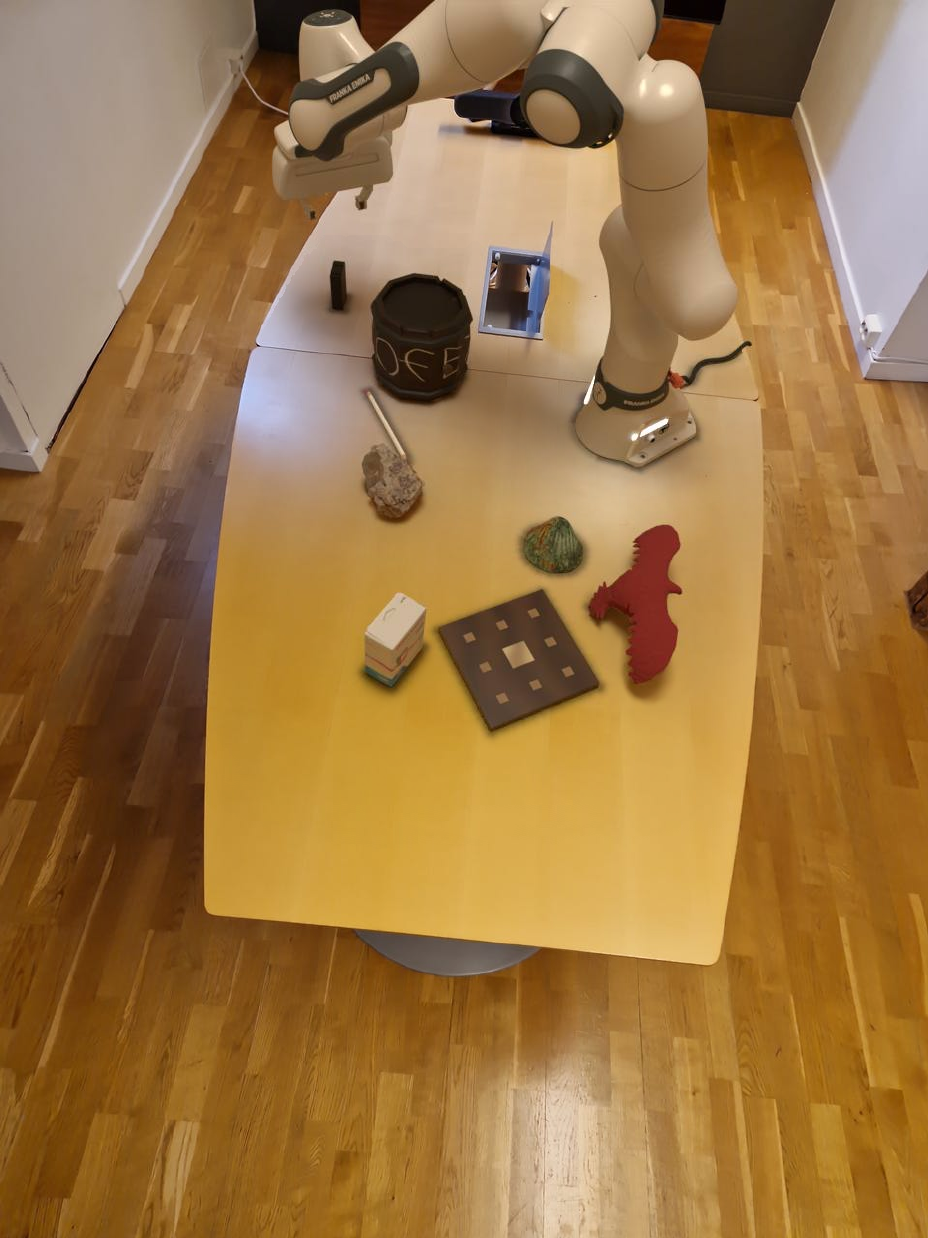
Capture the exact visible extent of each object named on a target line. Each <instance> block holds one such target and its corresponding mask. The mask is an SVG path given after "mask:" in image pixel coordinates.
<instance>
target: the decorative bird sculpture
mask: <svg viewBox="0 0 928 1238" xmlns="http://www.w3.org/2000/svg"><path fill="white" fill-rule="evenodd" d="M680 540H681V539H680V536H679V533H678V530H676V528H675V527H673V525H670V524H660V525H655V526H652V527H651V528H648V529H647V530H645V531H643V532H642V533H640V534H639V535H638V536H637V537H635V539H634V540H633V541H632V543H633V545H632V548H636V550H634V551H633V552H632V554H633V555H637V556H635V557H634V558H633V559H632V561H633V562H634V564H632V565H631V569H627V570H626V571H625V572H623V573H622V574H620V575H619V576H618V578H617V579H616V580H615V581H614V582H612V583H611V584H610V585H609V586H607V581H603V583H602V585H600V584H599V585H598V587H597V591H594V592H593V597H591V599H590V603H589V605H588V607H587V608H588V609H589V615H590V616H592V617H595V618H596V619H598V618H599V617H600V620H603V619H604V616H605V613H606V612H607V611H608V610H609V609H611V608H614V609H616V610H617V611H618V612H620V613H622V614H623V615H624V616H626V617H628V618H630V619H629V620H628V621H629V622H630V623H632V624H634V625H632V626H629V627H628V628H627V629H628V631H629V632H631V633H633V635H632V636H630V637H628V638H627V639H626V642H628V644H631V645H630V647H628V648H627V649H625V655H626V656H630V659H629V660H628V662H627V665H628V666H629V667H630V668H631V669H632V670H630V671H628V672H627V675H628V676H629V677H630V679H631V680H632V682H633V684H634V685H642V684H645V683H647V682H649V681H652V680H653V679H654V678H655V677H656V676H658V675H660V674H661V673H663V672H664V671H665V670H666V668H667V667H668V666H669V663H670V662H671V659H672V657H673V654H674V652H675V651H676V648H677V645H678V644H677V643H678V635H679V629H678V626H677V624H675V622H673V620H672V618H671V616H670V614H669V610H668V597H669V595H670V594H671V595H672V594H676V595H679V596H681V595H682V594H683V589H682V587H681V586H679V584H677V583H675V582H674V581H672V580H671V579H670V577H669V568H670V564H671V562H672V561H673V558H674V557H675V556H676V555H677V553H678V552H679V550H680V549H681V545H682V544H681V541H680Z"/></svg>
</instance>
